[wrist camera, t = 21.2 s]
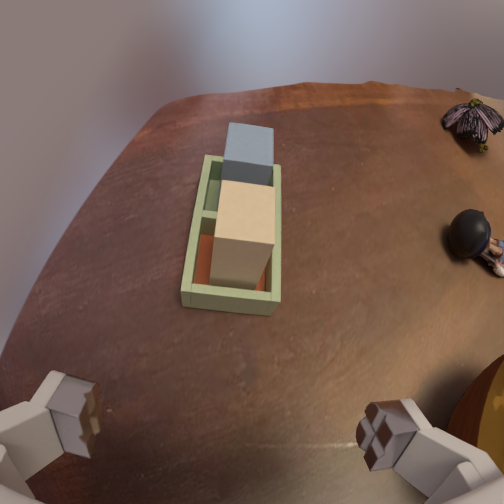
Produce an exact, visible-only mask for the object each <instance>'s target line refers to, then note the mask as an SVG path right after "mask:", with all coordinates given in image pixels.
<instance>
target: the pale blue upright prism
mask: <svg viewBox="0 0 504 504" xmlns="http://www.w3.org/2000/svg"><path fill="white" fill-rule="evenodd" d="M272 169H273V129H272V128H267V127H260V126H254V125H247V124H241V123H233V122H230V123H229V128H228V134H227V140H226V146H225V152H224V158H223V165H222V173H221V181H220V188H219V196H218V204H219V197H220V190H221V183H222V180H228V181H236V182H243V183H250V184H257V185H264V186H267V185H268V182H269V179H270V175H271V172H272ZM218 204H217V212H218Z"/></svg>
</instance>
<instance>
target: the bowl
mask: <svg viewBox="0 0 504 504" xmlns="http://www.w3.org/2000/svg"><path fill="white" fill-rule="evenodd" d="M446 433H448V434H450V435H452V436H454V437H456V438H458V439H460V440H462V441H464V442H466V443H468V444H470V445H472V446H474V447H476V448H478V449H480V450H482V451H484V452H486V453H487V454H488V455H489V456H490V458H491V459H492V460H493V462H494V463H495V464H496V466H497V467H498V468H499V470H500V471H501V472H502V474H504V355H502V356H501V357H499V358H497V359H496V360H495V361H494V362H493V363H491V364H490V365H489V366H488V367H487V368H486V369H485V370H484V371H482V373H481V374H480V375H479V376H478V377H477V378H476V379H475V380H474V381H473V383H472V384H471V385H470V386H469V388H468V389H467V390H466V392H465V393H464V395H463V396H462V397H461V399H460V400H459V402H458V404H457V406H456V408H455V410H454V412H453V413H452V416H451V418H450V421H449V423H448V427H447V430H446Z"/></svg>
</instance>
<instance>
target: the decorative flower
mask: <svg viewBox="0 0 504 504" xmlns="http://www.w3.org/2000/svg"><path fill="white" fill-rule="evenodd" d="M455 121H456V123H457V133H456V134H457V137H461V139H462V137H464V138H465V136H466V137H469V136H472V137H471V138H473V139H474V140H475V142H476V143H478V144H480V145H481V147H482V148H483V149H485V150H487V149H488V146H486V145H485V146H484V147H483V144H485V143H486V140H487V137H488V128H489V130H490V131H491V132H492V133H493V134H494V135H495V134H496V133H497V132H501V131H500V130H503V129H502V128H503V127H504V119H503V118H502V117H501V115H500V114H499V113H498V112H497V111H495V110H494V109H493V108H491V107H489V106H487V105H484V104H483V102H481V101H480V100H479V99H472V100H471V101H470V103H468V104H466V103H465V104H459V105H456V106H454V107H453V108H451V109H450V110H449V111H448V112H447V113H446V114H445V115H444V116H443V122H442V126H443V128H444V129H447V128H449V127H450V126H451V125H452V124H453V123H454V122H455ZM482 148H480V149H479V152H480V153H482V152H483V149H482Z"/></svg>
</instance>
